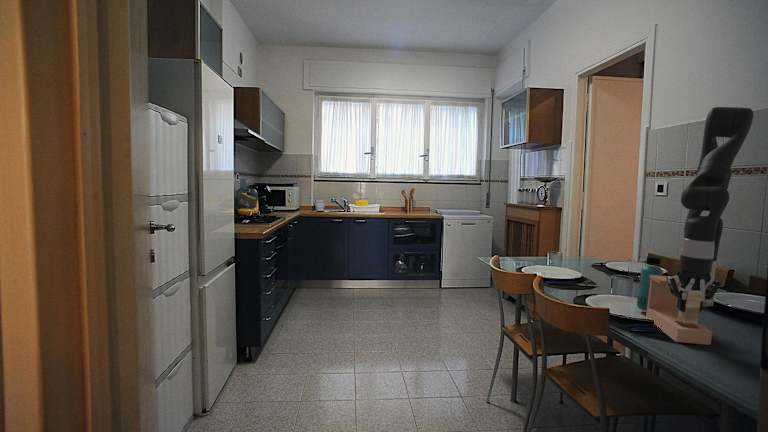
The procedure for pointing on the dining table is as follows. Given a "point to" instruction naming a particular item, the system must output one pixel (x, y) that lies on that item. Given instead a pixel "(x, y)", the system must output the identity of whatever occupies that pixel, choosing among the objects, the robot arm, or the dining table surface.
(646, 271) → the beverage bottle
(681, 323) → the socket stand
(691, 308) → the peg
